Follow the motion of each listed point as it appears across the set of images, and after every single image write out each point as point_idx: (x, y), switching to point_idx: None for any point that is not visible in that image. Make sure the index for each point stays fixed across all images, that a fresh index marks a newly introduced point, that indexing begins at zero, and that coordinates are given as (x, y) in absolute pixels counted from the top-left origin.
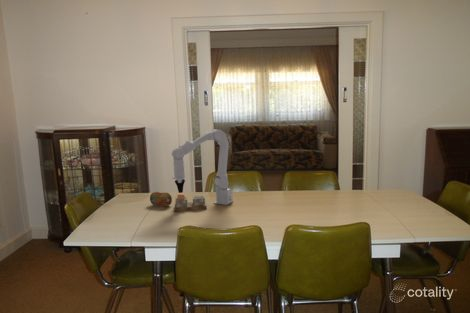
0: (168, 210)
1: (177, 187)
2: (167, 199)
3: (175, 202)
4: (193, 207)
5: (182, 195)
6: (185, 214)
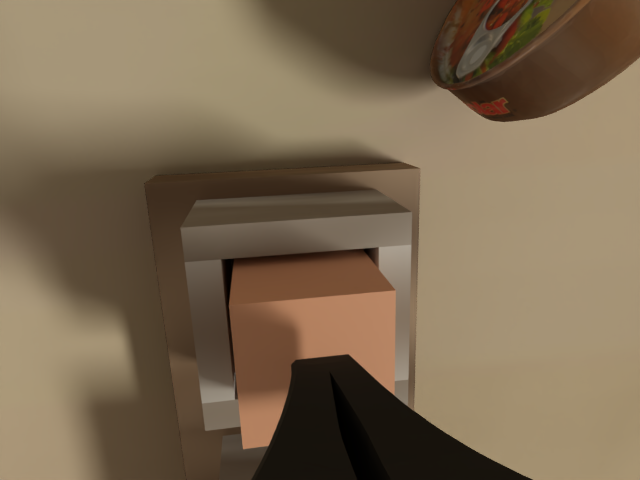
0: (251, 73)
1: (271, 449)
2: (493, 38)
3: (187, 219)
4: (180, 432)
5: (239, 404)
6: (9, 329)
